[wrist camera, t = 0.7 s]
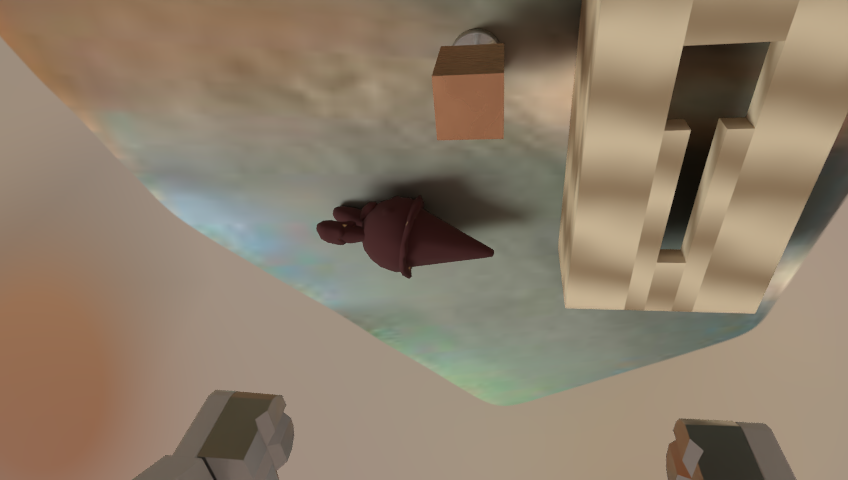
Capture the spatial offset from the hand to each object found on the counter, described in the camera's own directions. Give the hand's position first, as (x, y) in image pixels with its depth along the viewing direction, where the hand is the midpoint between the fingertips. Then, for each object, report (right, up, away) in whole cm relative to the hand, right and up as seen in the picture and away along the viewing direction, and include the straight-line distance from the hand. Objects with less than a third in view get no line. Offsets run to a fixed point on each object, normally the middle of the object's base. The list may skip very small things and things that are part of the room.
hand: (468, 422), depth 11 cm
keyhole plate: (+17, +12, +27) cm, 34 cm away
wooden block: (+3, +17, +26) cm, 31 cm away
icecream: (-2, +6, +35) cm, 36 cm away
